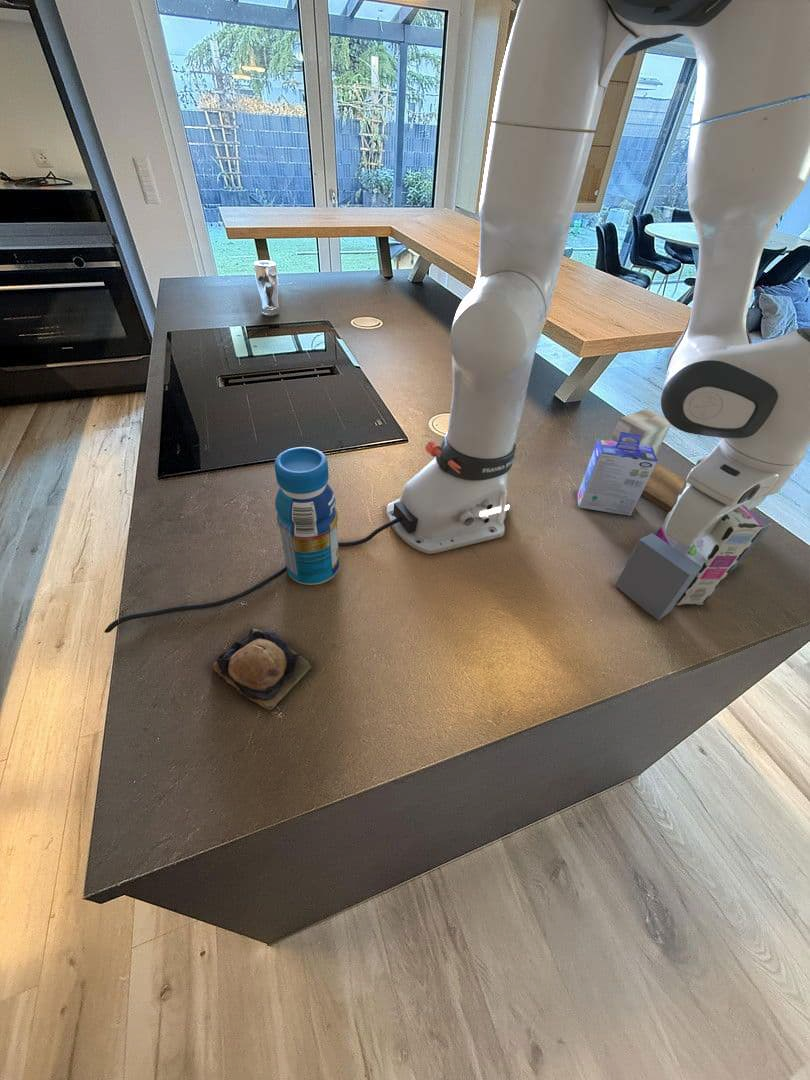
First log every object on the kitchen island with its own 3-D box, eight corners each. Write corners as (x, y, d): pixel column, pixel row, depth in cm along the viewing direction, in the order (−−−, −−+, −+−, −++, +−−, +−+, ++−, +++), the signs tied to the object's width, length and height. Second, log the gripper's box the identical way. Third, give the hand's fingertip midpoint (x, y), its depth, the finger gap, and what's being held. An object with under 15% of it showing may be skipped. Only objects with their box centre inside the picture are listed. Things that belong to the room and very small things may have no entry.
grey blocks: (657, 620, 69) (689, 575, 62) (614, 585, 73) (639, 539, 66) (737, 566, 78) (772, 522, 71) (694, 538, 83) (723, 494, 76)
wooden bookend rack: (695, 528, 85) (727, 479, 77) (597, 466, 99) (616, 418, 91) (727, 510, 90) (761, 461, 82) (629, 453, 103) (650, 406, 96)
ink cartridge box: (627, 499, 90) (659, 434, 80) (631, 517, 86) (666, 450, 76) (576, 491, 91) (601, 425, 81) (578, 508, 87) (605, 441, 77)
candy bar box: (705, 606, 71) (768, 526, 60) (674, 607, 71) (733, 527, 59) (669, 554, 79) (718, 476, 68) (641, 555, 79) (687, 476, 68)
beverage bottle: (274, 571, 71) (252, 462, 58) (311, 541, 77) (299, 435, 63) (315, 596, 68) (302, 487, 55) (351, 563, 74) (347, 457, 60)
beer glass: (257, 315, 155) (249, 264, 145) (265, 308, 160) (258, 259, 150) (277, 317, 155) (271, 266, 144) (284, 311, 160) (279, 261, 149)
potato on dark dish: (315, 666, 60) (313, 650, 57) (267, 716, 55) (262, 701, 52) (258, 625, 64) (253, 609, 61) (207, 669, 59) (200, 653, 56)
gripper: (765, 434, 66) (716, 509, 76) (682, 474, 57) (638, 553, 67) (812, 456, 62) (754, 531, 72) (730, 501, 54) (677, 581, 63)
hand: (697, 542), depth 69 cm, fingers open, 8 cm apart
